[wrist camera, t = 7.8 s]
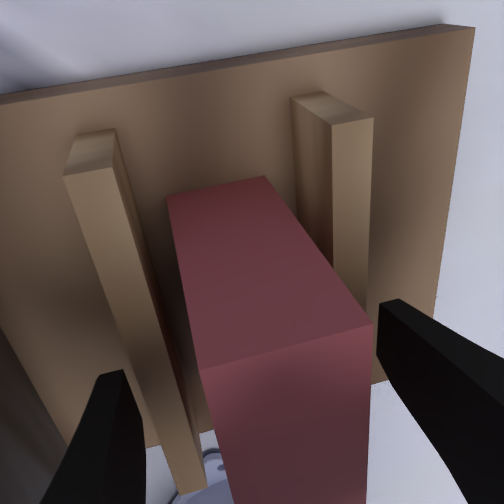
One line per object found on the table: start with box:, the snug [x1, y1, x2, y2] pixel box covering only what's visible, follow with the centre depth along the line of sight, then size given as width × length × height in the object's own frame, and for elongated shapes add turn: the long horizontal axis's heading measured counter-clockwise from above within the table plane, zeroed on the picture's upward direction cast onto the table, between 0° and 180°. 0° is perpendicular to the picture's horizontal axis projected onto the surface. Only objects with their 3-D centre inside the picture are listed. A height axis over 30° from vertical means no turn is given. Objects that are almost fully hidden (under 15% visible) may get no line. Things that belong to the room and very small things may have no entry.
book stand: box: [0, 24, 476, 504], centre depth 13 cm, size 18×14×6 cm
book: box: [166, 175, 373, 504], centre depth 12 cm, size 3×8×7 cm, turn 6°
